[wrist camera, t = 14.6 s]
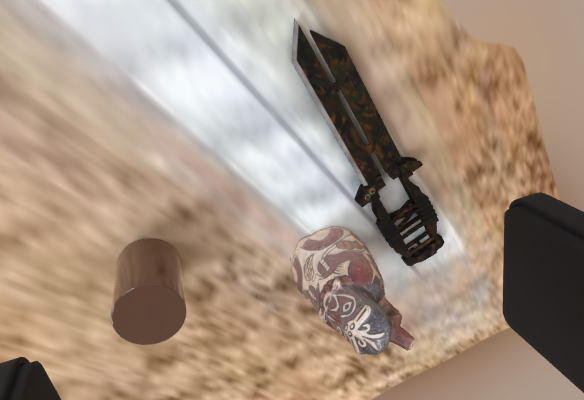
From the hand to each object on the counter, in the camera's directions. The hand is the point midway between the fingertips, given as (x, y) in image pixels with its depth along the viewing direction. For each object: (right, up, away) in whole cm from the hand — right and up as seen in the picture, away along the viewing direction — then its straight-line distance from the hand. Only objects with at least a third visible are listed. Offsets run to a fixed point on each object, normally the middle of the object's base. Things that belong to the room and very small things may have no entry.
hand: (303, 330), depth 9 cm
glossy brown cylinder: (-12, -3, +29) cm, 32 cm away
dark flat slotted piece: (+6, +7, +31) cm, 32 cm away
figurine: (+3, -3, +34) cm, 35 cm away
